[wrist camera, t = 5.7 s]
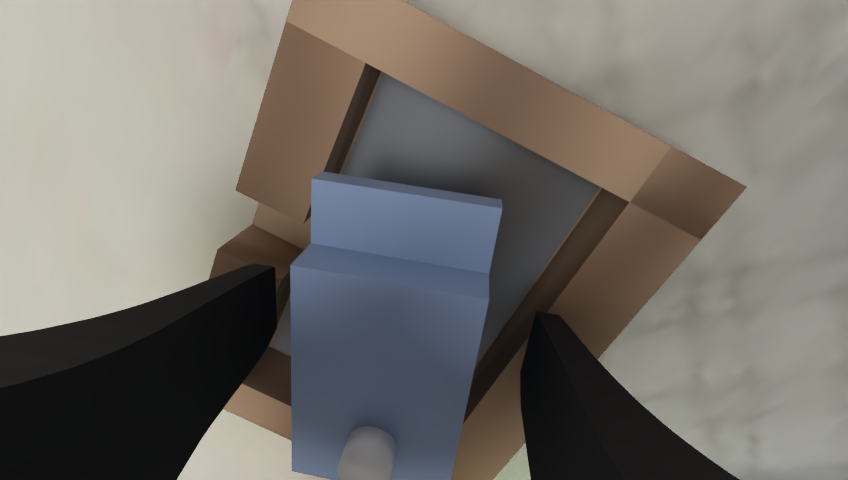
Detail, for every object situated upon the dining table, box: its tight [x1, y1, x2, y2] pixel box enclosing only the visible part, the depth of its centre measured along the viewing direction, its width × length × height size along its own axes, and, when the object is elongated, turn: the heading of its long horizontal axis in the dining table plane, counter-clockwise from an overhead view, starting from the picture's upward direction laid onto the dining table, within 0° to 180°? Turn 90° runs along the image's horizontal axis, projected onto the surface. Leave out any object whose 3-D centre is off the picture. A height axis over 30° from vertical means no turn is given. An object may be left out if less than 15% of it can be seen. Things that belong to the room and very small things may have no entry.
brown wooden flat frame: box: [209, 0, 747, 480], centre depth 14 cm, size 11×14×3 cm
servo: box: [290, 171, 502, 480], centre depth 12 cm, size 4×9×6 cm, turn 173°
